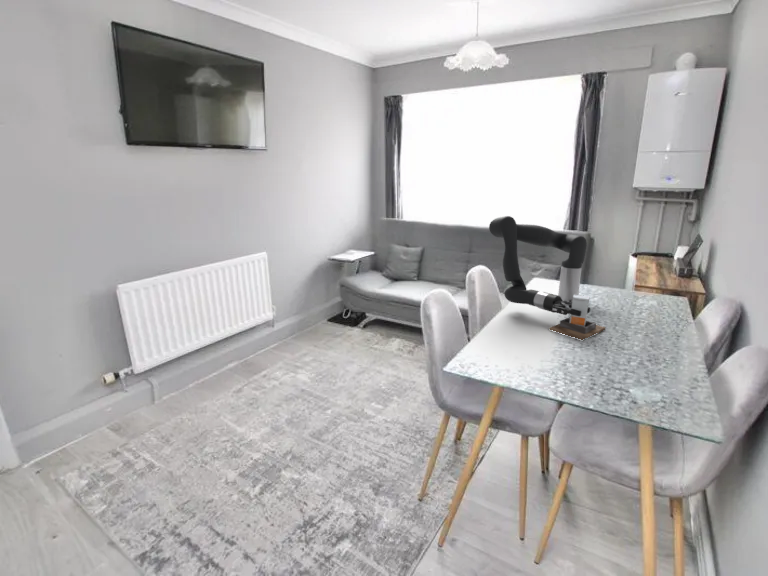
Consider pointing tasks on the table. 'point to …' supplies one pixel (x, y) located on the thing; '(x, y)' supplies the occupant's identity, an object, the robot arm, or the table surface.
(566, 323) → the holder
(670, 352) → the table surface
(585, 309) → the skincare box
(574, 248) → the robot arm
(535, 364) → the table surface
